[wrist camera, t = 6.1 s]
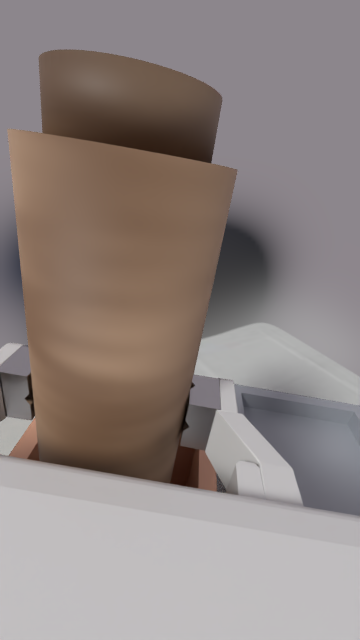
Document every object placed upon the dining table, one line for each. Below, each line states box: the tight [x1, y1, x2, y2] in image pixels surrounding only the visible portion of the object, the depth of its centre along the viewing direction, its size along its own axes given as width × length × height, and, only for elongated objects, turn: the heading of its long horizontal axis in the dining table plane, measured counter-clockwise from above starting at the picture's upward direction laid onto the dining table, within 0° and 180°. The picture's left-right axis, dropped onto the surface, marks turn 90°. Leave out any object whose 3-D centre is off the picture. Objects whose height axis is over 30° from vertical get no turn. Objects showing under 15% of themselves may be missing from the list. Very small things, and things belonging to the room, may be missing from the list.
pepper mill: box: [8, 50, 237, 484], centre depth 10 cm, size 5×5×19 cm
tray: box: [234, 384, 360, 516], centre depth 19 cm, size 12×18×2 cm, turn 176°
